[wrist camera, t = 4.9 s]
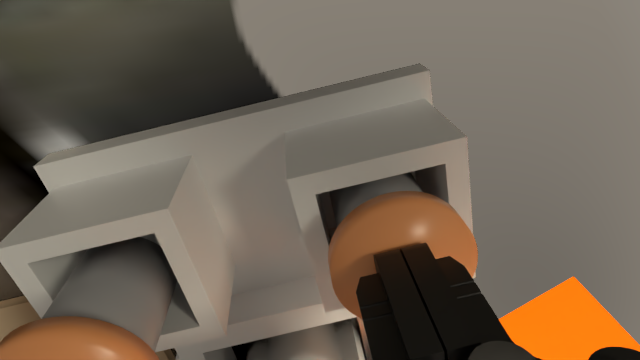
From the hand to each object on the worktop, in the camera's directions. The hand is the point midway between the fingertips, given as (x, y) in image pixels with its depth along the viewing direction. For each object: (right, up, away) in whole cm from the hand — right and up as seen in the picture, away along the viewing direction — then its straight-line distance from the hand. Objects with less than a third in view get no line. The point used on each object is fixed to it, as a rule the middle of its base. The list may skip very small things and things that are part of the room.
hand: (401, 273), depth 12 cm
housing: (-4, -2, +9) cm, 10 cm away
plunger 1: (-9, -1, +3) cm, 9 cm away
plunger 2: (0, +2, +4) cm, 5 cm away
